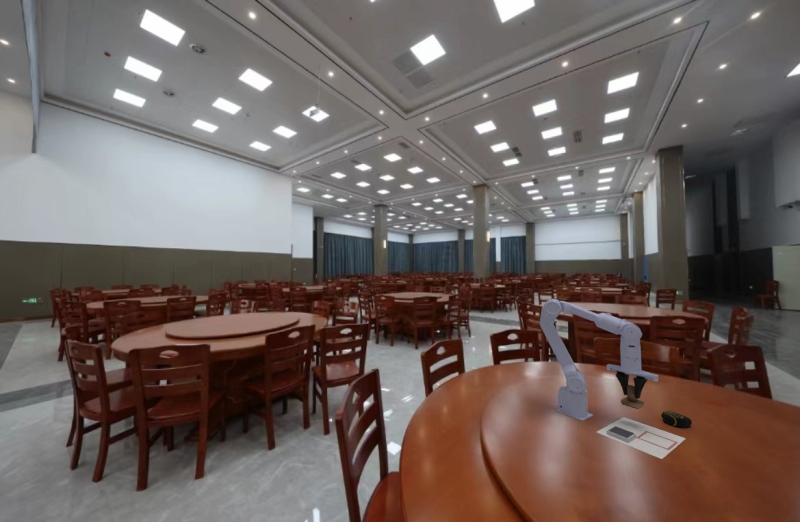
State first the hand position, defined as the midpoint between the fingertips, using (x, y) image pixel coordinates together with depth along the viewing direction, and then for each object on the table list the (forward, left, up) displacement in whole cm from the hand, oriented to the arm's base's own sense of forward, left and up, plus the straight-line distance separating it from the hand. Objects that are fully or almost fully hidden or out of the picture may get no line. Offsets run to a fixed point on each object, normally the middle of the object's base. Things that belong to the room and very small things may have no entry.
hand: (631, 396), depth 103 cm
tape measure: (+7, +15, -11) cm, 20 cm away
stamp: (0, 0, -3) cm, 3 cm away
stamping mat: (+4, -6, -10) cm, 13 cm away
